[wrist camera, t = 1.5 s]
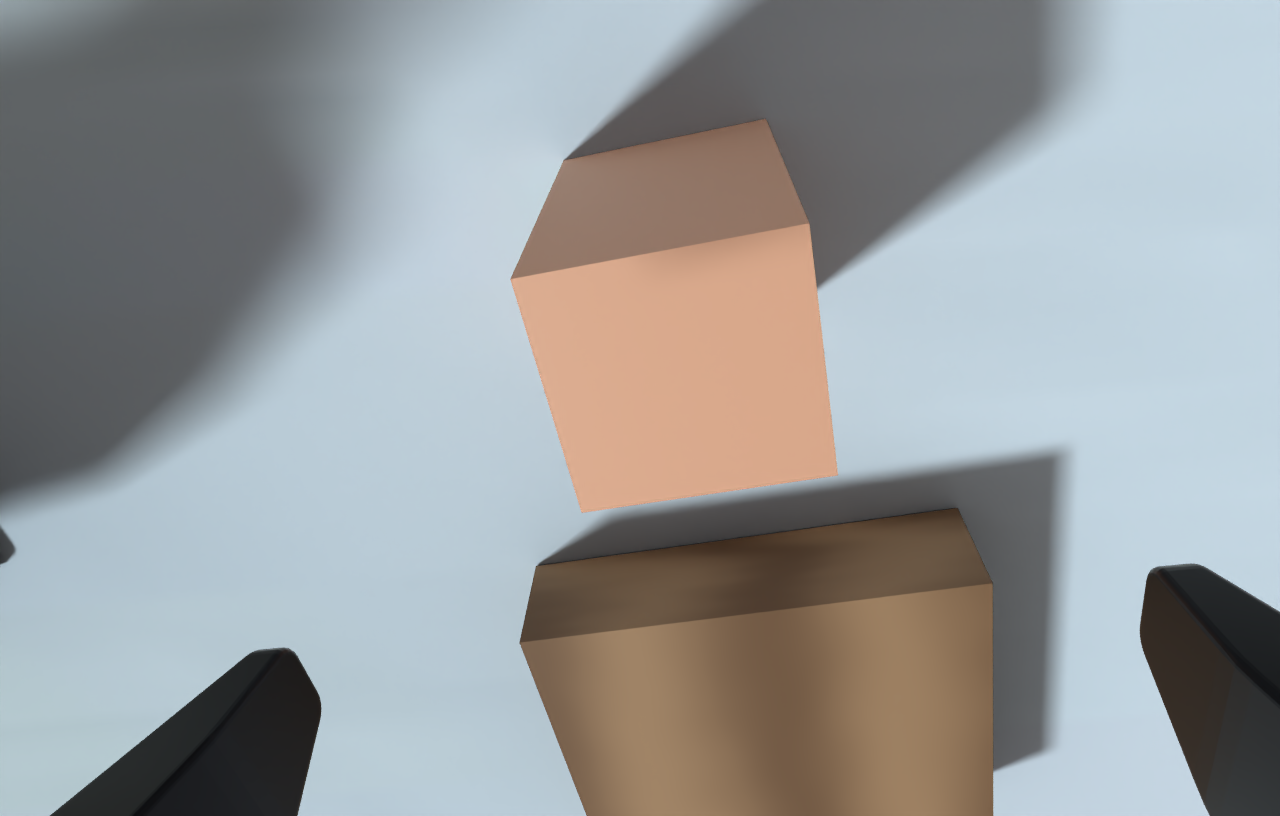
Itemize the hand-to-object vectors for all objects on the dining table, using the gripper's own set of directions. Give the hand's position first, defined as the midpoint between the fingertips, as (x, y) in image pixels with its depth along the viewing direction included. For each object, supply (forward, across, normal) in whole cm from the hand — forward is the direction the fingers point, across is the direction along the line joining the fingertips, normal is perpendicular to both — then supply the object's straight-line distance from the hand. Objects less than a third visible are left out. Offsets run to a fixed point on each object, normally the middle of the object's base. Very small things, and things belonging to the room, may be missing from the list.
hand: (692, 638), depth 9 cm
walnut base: (+12, 0, +15) cm, 19 cm away
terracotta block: (+12, 0, 0) cm, 13 cm away
